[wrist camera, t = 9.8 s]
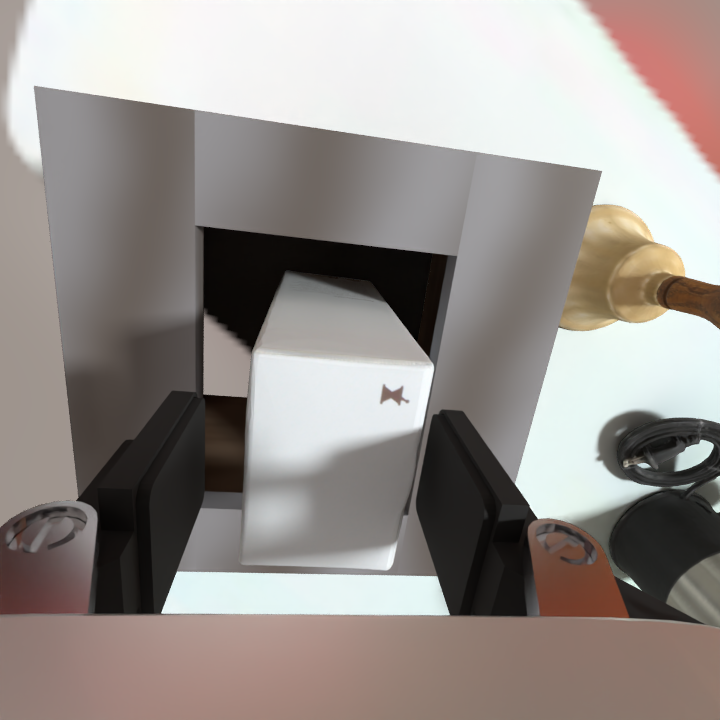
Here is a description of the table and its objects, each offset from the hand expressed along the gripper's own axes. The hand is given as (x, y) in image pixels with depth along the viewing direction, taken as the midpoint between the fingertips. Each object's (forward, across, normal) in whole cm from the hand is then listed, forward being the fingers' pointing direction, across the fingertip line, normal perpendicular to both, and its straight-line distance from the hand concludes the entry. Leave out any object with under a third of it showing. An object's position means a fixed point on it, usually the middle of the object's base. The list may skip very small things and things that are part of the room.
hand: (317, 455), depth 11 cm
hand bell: (+18, -18, -4) cm, 26 cm away
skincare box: (+11, 0, 0) cm, 11 cm away
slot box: (+18, 0, 0) cm, 18 cm away
